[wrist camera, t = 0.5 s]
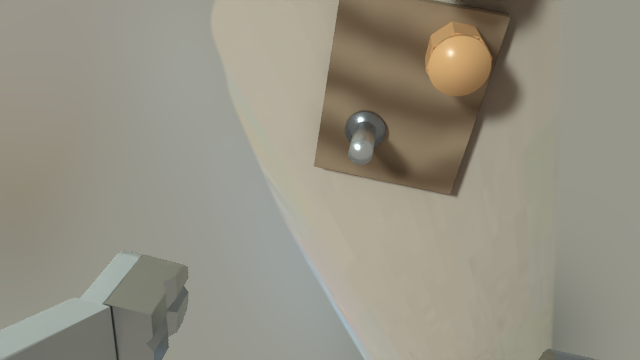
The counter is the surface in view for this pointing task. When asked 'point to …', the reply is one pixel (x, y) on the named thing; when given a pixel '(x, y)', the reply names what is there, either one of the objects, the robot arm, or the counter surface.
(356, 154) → the stud
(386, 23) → the board
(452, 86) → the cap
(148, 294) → the robot arm
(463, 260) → the counter surface
